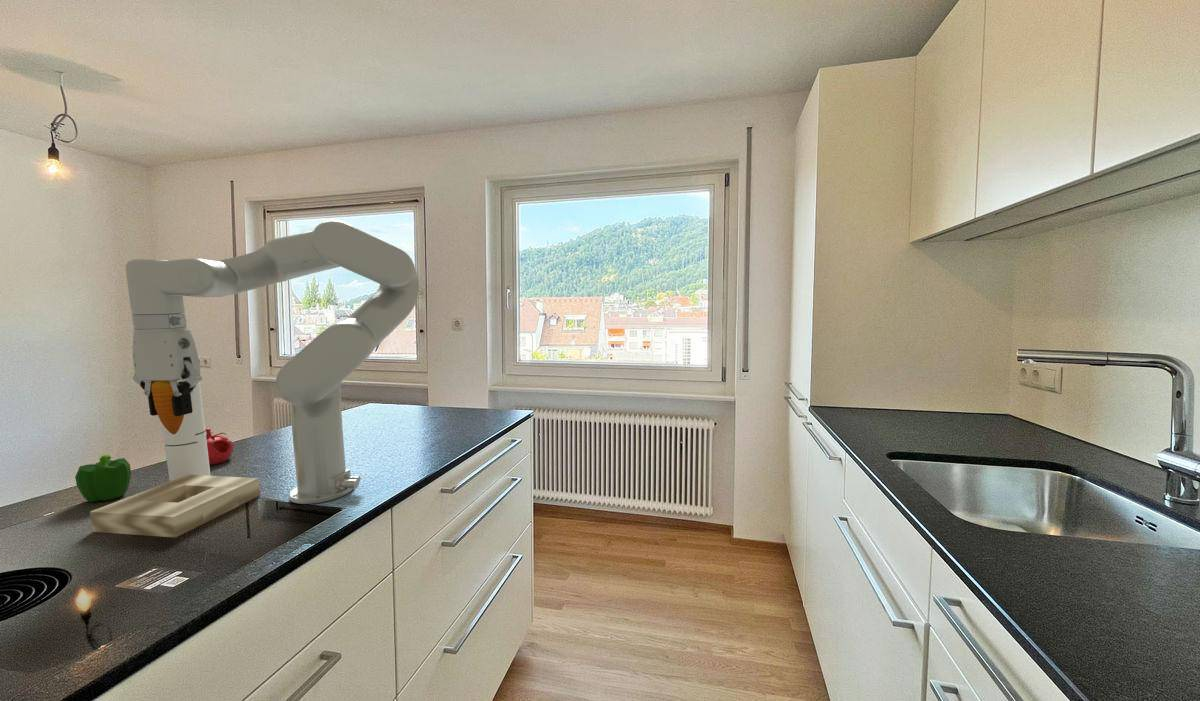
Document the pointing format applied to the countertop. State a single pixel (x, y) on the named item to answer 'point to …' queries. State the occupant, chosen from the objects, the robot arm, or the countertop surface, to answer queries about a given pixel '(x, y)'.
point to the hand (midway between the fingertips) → (171, 413)
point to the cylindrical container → (188, 443)
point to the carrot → (166, 405)
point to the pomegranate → (218, 447)
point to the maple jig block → (175, 506)
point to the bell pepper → (104, 479)
